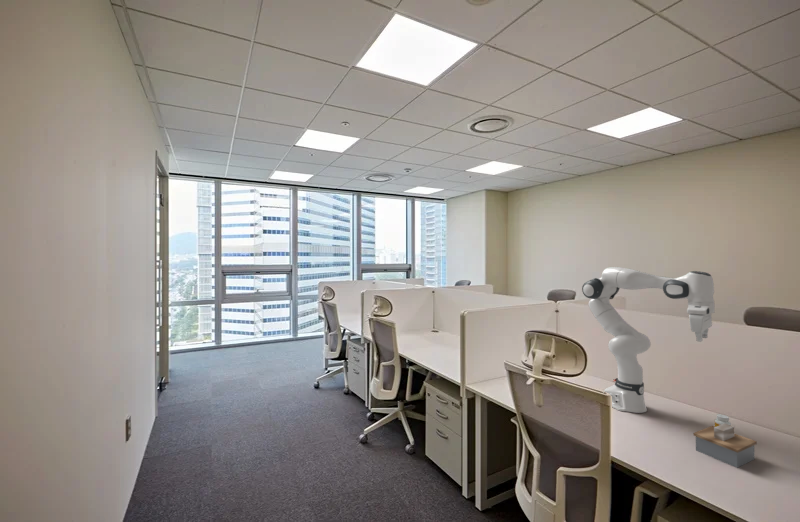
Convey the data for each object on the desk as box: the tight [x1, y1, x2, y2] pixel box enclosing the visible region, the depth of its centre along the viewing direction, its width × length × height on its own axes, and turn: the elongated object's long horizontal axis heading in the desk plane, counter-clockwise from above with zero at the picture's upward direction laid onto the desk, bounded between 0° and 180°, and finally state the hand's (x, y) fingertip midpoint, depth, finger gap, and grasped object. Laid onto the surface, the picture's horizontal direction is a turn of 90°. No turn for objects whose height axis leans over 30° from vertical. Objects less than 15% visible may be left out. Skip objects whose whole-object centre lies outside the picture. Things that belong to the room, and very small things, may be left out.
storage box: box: [695, 436, 756, 469], centre depth 138 cm, size 13×13×7 cm
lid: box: [693, 423, 758, 453], centre depth 138 cm, size 14×14×5 cm
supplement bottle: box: [714, 413, 732, 427], centre depth 152 cm, size 5×5×10 cm
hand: (702, 339), depth 152 cm, fingers open, 8 cm apart
